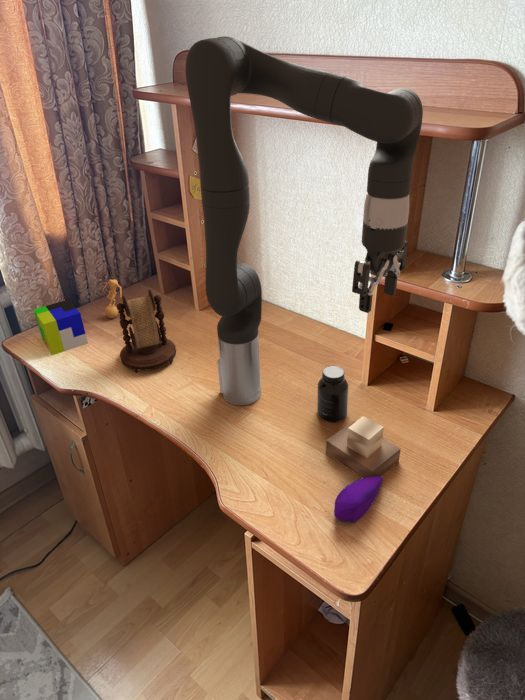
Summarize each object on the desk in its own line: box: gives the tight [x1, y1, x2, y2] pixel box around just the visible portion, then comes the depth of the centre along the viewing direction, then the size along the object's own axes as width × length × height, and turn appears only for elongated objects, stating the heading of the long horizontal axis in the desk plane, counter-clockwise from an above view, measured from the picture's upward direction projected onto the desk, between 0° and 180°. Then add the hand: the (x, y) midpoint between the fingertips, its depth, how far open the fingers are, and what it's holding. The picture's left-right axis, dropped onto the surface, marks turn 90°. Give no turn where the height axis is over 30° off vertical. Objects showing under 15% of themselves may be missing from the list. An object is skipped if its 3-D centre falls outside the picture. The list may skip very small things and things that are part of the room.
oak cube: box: [347, 415, 385, 458], centre depth 109 cm, size 5×5×5 cm
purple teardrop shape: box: [333, 476, 384, 523], centre depth 101 cm, size 5×5×15 cm
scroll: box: [116, 288, 177, 374], centre depth 140 cm, size 15×15×20 cm
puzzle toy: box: [33, 298, 89, 356], centre depth 152 cm, size 10×10×10 cm
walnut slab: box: [325, 420, 401, 479], centre depth 111 cm, size 12×9×4 cm
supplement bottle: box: [316, 365, 349, 423], centre depth 121 cm, size 7×7×12 cm
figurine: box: [102, 279, 123, 319], centre depth 162 cm, size 8×6×12 cm
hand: (377, 302), depth 101 cm, fingers open, 8 cm apart
